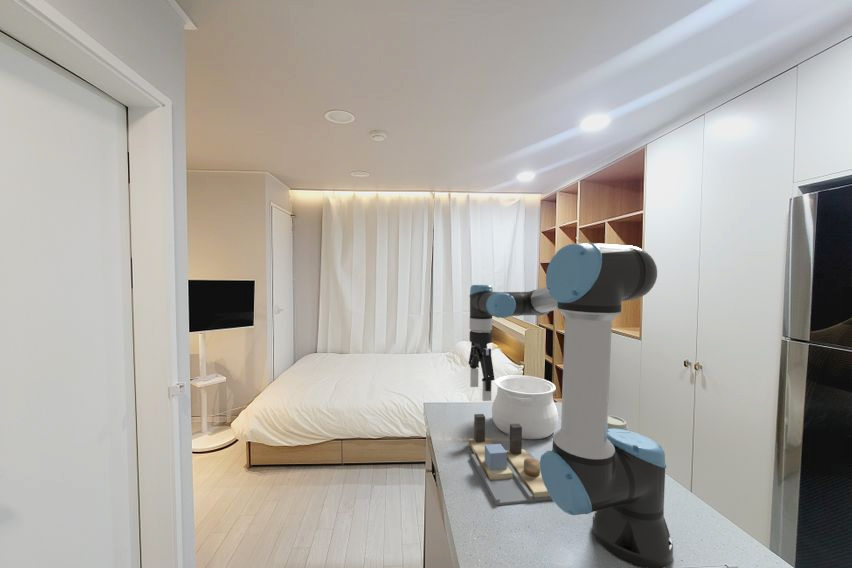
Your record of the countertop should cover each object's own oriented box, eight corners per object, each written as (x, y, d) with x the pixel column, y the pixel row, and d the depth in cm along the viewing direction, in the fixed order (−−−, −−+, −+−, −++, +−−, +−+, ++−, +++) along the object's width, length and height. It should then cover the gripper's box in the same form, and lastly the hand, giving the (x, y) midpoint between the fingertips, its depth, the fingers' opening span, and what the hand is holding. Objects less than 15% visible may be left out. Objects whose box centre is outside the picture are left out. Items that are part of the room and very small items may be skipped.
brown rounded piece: (542, 476, 95) (543, 465, 95) (528, 477, 95) (528, 467, 94) (535, 467, 100) (535, 457, 99) (521, 468, 99) (521, 458, 99)
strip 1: (512, 477, 97) (513, 443, 96) (489, 479, 96) (489, 445, 95) (488, 441, 117) (488, 413, 117) (468, 443, 116) (468, 414, 116)
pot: (500, 409, 147) (500, 371, 147) (560, 420, 137) (561, 379, 136) (483, 434, 124) (484, 388, 124) (554, 450, 114) (555, 400, 113)
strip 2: (559, 495, 89) (559, 458, 89) (534, 497, 88) (534, 460, 88) (524, 453, 110) (524, 423, 110) (503, 455, 109) (503, 424, 109)
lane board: (565, 498, 89) (565, 492, 89) (495, 505, 86) (496, 499, 86) (527, 454, 111) (527, 449, 111) (471, 458, 108) (471, 454, 108)
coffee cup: (631, 465, 105) (632, 427, 104) (601, 462, 106) (602, 424, 106) (621, 451, 113) (622, 415, 113) (593, 448, 115) (594, 413, 115)
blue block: (506, 469, 98) (506, 452, 98) (490, 470, 98) (490, 453, 98) (500, 460, 103) (500, 443, 103) (484, 461, 103) (484, 444, 103)
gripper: (505, 336, 103) (504, 406, 103) (480, 325, 128) (479, 381, 128) (481, 337, 102) (481, 407, 102) (460, 325, 126) (460, 382, 127)
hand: (480, 393), depth 115 cm, fingers open, 13 cm apart
